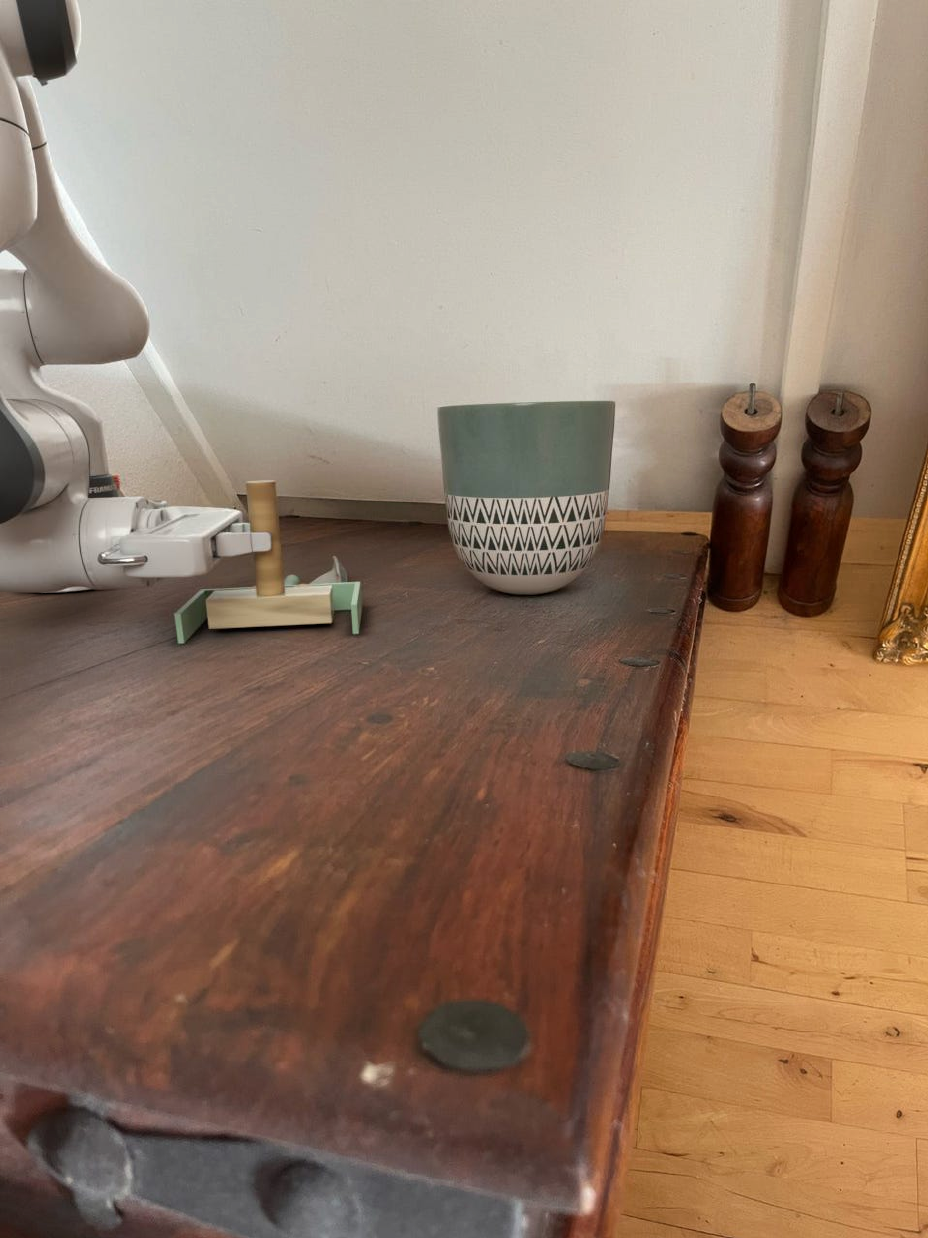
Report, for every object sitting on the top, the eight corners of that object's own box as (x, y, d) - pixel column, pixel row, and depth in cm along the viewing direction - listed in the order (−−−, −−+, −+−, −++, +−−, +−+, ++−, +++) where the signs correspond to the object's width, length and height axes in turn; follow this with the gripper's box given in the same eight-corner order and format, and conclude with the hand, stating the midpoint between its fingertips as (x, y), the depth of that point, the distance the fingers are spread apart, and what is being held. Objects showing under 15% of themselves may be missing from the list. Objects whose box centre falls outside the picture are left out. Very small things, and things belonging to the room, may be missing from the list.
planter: (609, 574, 97) (613, 402, 91) (612, 612, 78) (617, 399, 72) (459, 573, 100) (454, 407, 95) (427, 609, 81) (418, 405, 76)
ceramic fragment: (350, 600, 86) (347, 567, 85) (304, 603, 85) (301, 570, 84) (344, 578, 100) (342, 550, 99) (304, 581, 99) (302, 552, 98)
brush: (217, 618, 77) (201, 481, 73) (334, 613, 78) (325, 477, 74) (208, 629, 73) (191, 485, 69) (332, 623, 74) (321, 480, 71)
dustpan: (221, 597, 90) (218, 573, 89) (364, 590, 92) (362, 566, 91) (177, 644, 71) (173, 613, 70) (358, 634, 73) (356, 604, 72)
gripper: (83, 525, 61) (254, 518, 63) (156, 499, 81) (285, 494, 82) (94, 599, 63) (261, 591, 64) (163, 556, 83) (290, 551, 84)
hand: (275, 537), depth 73 cm, fingers closed on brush, 3 cm apart
